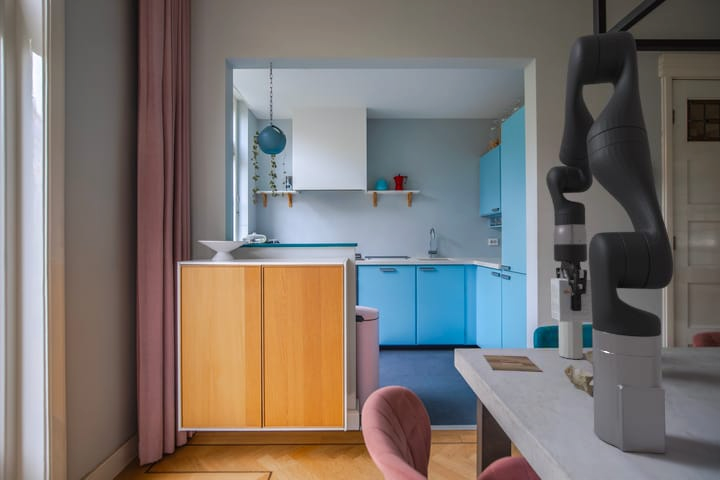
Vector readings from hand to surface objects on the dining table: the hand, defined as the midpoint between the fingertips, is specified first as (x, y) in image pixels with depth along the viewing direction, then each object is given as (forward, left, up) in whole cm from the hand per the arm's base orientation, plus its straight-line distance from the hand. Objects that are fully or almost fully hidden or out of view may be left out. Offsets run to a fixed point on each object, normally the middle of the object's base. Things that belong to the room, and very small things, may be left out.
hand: (571, 308), depth 100 cm
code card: (+4, +14, -15) cm, 21 cm away
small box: (0, 0, -3) cm, 3 cm away
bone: (-16, +3, -16) cm, 23 cm away
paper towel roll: (+13, -5, -16) cm, 21 cm away
